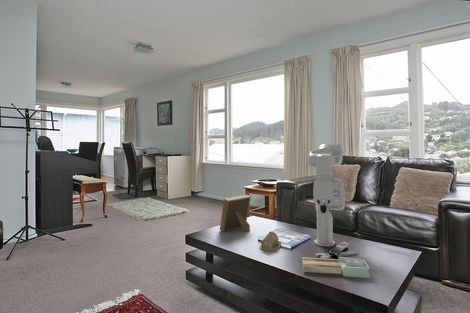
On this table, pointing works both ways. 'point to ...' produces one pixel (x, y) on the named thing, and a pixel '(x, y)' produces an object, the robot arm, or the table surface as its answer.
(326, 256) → the adjustable wrench
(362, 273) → the tray
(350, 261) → the chip
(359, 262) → the chip
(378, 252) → the table surface
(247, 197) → the photo frame
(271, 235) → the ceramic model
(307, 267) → the slot rail
